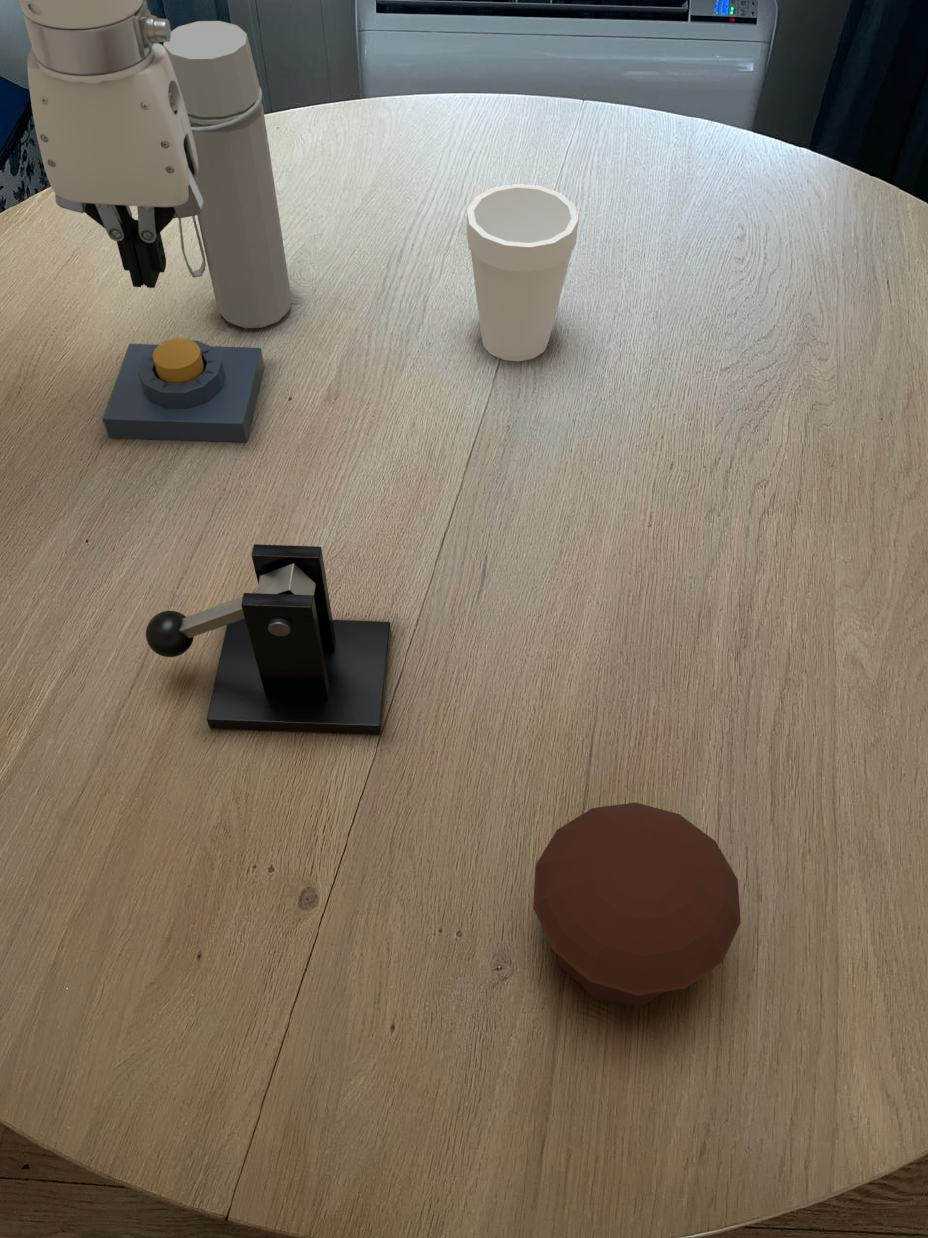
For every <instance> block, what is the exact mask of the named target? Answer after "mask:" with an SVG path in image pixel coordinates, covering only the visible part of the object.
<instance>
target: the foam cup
mask: <svg viewBox="0 0 928 1238" xmlns="http://www.w3.org/2000/svg"><path fill="white" fill-rule="evenodd" d="M578 229H579V216H578V212H577V208H576V205H575V204H574V203H573V202H572V201H570V200H569V199H568V197H566V196H564V194H562V193H561V192H559V191H556V190H552V189H550V188H548V187H544V186H541V185H536V184H524V183H512V184H506V185H501V186H495V187H491V188H489V189H487V190H485V191H484V192H482V193H479V194H478V195H476V196H475V197H474V198H473V199H472V201H471V203H470V204H469V206H468V207H467V208H466V240H467V245H468V250H469V251H470V257H471V262H472V272H473V280H474V287H475V288H474V289H475V296H476V303H477V314H478V320H479V328H480V335H481V341H482V346H483V348H484V349H485V351H487V352H488V353H489V354H490V355H491V356H493V357H496V358H498V359H500V360H503V361H510V362H523V361H529V360H533V359H536V357H538V356H540V355H541V354H543V353H544V352H545V351H546V348H547V346H548V345H549V340H550V338H551V335H552V331H553V328H554V327H553V326H554V322H555V319H556V315H557V311H558V307H559V303H560V299H561V296H562V290H563V288H564V283H565V279H566V274H567V271H568V268H569V264H570V259H571V255H572V252H573V251H574V249H575V247H576V244H577V237H578Z"/></svg>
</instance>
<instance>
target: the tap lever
mask: <svg viewBox="0 0 928 1238" xmlns="http://www.w3.org/2000/svg"><path fill="white" fill-rule="evenodd" d="M315 585H316V584H315V583H314V582H313V581H312V580H311V579H310V578H309V577H308V576H307V575H306V574H305V573H304V572H303V571H302V570H301V569H299V568H298V567H297V566H296V565H295V564H294V563H293V564H290V565H288V566H285V567H282V568H279V569H277V570H274V571H271V572H269V573H266V574H263V575H261V576H260V579H259V584H258V583H257V588H256V591H254V592H253V593H263V594H291V595H313V596H314V591H315ZM242 598H243V596H241V597H237V598H235V599H232V600H229V601H227V602H223V603H222V604H218V605H215V606H213V607H210V608H207V609H205V610H201V611H199V612H196V613H194V614H191V615H188V616H186V615H185V614H183V613H182V612H179V611H176V610H164V611H161V612H159V613H157V614H155V615H154V616H153V617H152V618H151V619H150V620H149V622H148V623H147V626H146V629H145V639H146V642H147V645H148V646H149V648H150V649H151V650H152V651H153V652H154V653H155V654H156V655H159V656H161V657H163V658H175V657H179V656H181V655H183V654H185V653H186V652H187V651H188V650H189V649H190V648H191V647H192V644H193V642H194V639H195V637H197V636H200V635H203V634H205V633H208V632H211V631H213V630H217V629H219V628H222V627H226V626H227V625H228V624H231V623H234V622H237V621H239V620H242V619H245V617H244V614H243V610H242V606H241V603H242Z"/></svg>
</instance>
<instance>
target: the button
mask: <svg viewBox="0 0 928 1238" xmlns="http://www.w3.org/2000/svg"><path fill="white" fill-rule="evenodd" d="M193 341H194V340H191V339H189V338H188V339H187V338H182V337H181V338H172V339H167V340H165V341H163V342H161V343H160V344H158V345H159V346H157V347H156V349H155V350H154V352H153V360H154V364H155V367H156V371H157V374H158V376H159V378H160V379H161V380H163V381H164V382H167V383H179V384H182V383H186V382H189V381H192V380H195V379H196V378H197V377H198V376H200V375H201V374H202V372H203V369H204V364H203V360H202V355H201V351H200V348H199V346H198V345H197V344H196V343H195V342H193Z"/></svg>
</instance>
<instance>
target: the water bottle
mask: <svg viewBox="0 0 928 1238" xmlns="http://www.w3.org/2000/svg"><path fill="white" fill-rule="evenodd" d="M162 46H163V47H164V48H165V50H166V52H167V55H168V57H169V59H170V62H171V64H172V67H173V70H174V72H175V75H176V78H177V81H178V84H179V87H180V90H181V93H182V97H183V100H184V104H185V107H186V111H187V114H188V118H189V122H190V125H191V129H192V133H193V137H194V142H195V146H196V151H197V156H198V164H199V169H198V175H197V177H194V180H195V182H196V184H197V186H198V189H199V191H200V193H201V196H202V198H203V201H204V203H203V206H202V209H201V212H200V214H199V215H196V216H197V221H196V216H191V217H192V221H193V222H192V223H193V225H194V229H195V233H196V239H197V242H198V246H199V250H200V254H201V258H202V262H201V264H200V267H199V269H196V270H194V271H193V269H192V268H191V266H190V263H189V262H188V261H189V260H188V258H187V256H186V252H185V245H184V235H183V225H182V218H179V219H178V227H179V228H178V229H179V237H180V238H179V239H180V246H181V247H180V248H181V251H182V255H183V259H184V261H185V264H186V267H187V270H188V271H189V273H190V275H191V277H192V278H200V277H203V275H204V273H205V270H206V265H207V267H208V272H209V275H210V280H211V285H212V291H213V295H214V299H215V304H216V308H217V311H218V312H219V313H220V315H221V316H222V317H223V319H224V320H225V321H226V322H228V323H229V324H231V325H234V326H237V327H239V328H243V329H263V328H265V327H267V326H270V325H273V324H276V323H278V322H280V321H281V320H282V318H283V317H284V316H286V315H287V313H288V312H289V311H290V309H291V304H292V294H291V287H290V279H289V273H288V266H287V259H286V252H285V247H284V238H283V232H282V226H281V218H280V212H279V206H278V199H277V191H276V186H275V185H276V184H275V178H274V171H273V165H272V158H271V153H270V151H271V150H270V145H269V139H268V131H267V125H266V119H265V118H266V116H265V111H264V104H263V103H262V101H263V91H262V87H261V86H260V82H259V78H258V74H257V69H256V66H255V62H254V58H253V54H252V49H251V45H250V41H249V38H248V33H247V32H246V31H244V30H243V29H242V28H241V27H240V26H239V25H237V24H234V23H230V22H226V21H222V20H198V21H194V22H190V23H187V24H183V25H179V26H177V27H176V28H174V29H173V30H171V39H170V42H163V44H162ZM197 222H198V224H197ZM198 226H199V229H198ZM199 230H200V232H199ZM200 236H201V237H200ZM206 263H207V264H206Z"/></svg>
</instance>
